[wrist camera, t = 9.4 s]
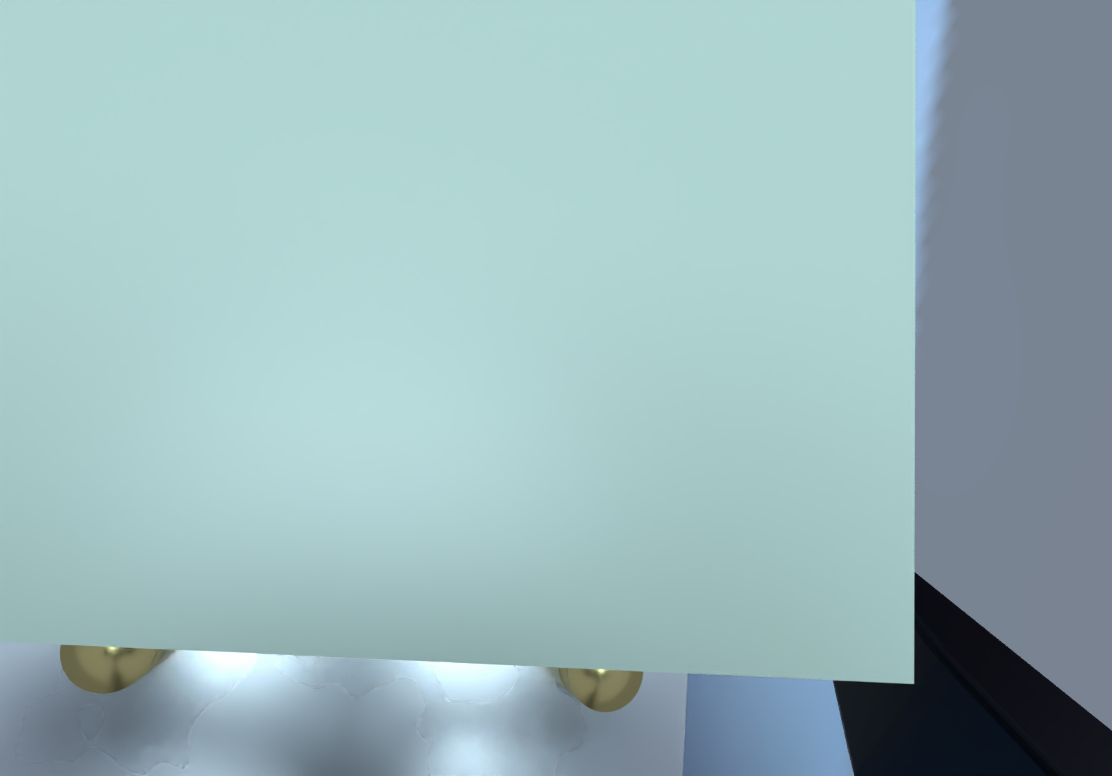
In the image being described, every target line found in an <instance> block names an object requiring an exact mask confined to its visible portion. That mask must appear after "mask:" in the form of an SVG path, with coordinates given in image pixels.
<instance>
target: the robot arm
mask: <svg viewBox="0 0 1112 776" xmlns="http://www.w3.org/2000/svg"><path fill="white" fill-rule="evenodd" d="M833 683H834V688H835V692H836V697H837V701H838V706H839V711H840V715H841V720H842V725H843V729H844V734H845V739H846V743H847V748H848V752H849V756H850V760H851V764H852V768H853V772H854V776H1112V731H1111V730H1110V729H1109V728H1108V727H1107V726H1105V725H1104V724H1103V723H1102V722H1100V721H1099V720H1098V719H1097V718H1095V717H1094V716H1093V715H1092V714H1090V713H1089V712H1088V711H1087V710H1085V709H1084V708H1083V707H1082V706H1081V705H1079V704H1078V703H1077V702H1076V701H1074V700H1073V699H1072V698H1070V697H1069V696H1068V695H1067V694H1066V693H1064V692H1063V691H1062V690H1061V689H1059V688H1058V687H1056V685H1054V684H1053V683H1052V682H1051V681H1049V680H1048V679H1047V678H1046V677H1044V676H1043V675H1042V674H1041V673H1040V672H1038V671H1037V670H1035V669H1034V668H1033V667H1032V666H1031V665H1030V664H1028V663H1027V662H1026V661H1024V660H1023V659H1022V658H1021V657H1020V656H1018V655H1017V654H1016V653H1015V652H1013V651H1012V650H1011V649H1010V648H1008V647H1007V646H1006V645H1005V644H1003V643H1002V642H1001V641H1000V640H998V639H997V638H996V637H995V636H993V635H992V634H991V633H990V632H989V631H987V630H986V629H985V628H984V627H982V626H981V625H980V624H979V623H977V622H976V621H975V620H974V619H972V618H971V617H970V616H969V615H967V614H966V613H965V612H964V611H962V610H961V609H960V608H959V607H957V606H956V605H955V604H954V603H952V602H951V601H950V600H949V599H947V598H946V597H945V596H944V595H943V594H941V593H940V592H939V591H938V590H936V589H935V588H934V587H932V586H931V585H930V584H929V583H928V582H926V581H925V580H924V579H923V578H921V577H920V576H919V575H918V574H916V573H915V572H914V684H905V683H883V682H861V681H840V680H833Z"/></svg>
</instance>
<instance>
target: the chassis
mask: <svg viewBox="0 0 1112 776" xmlns="http://www.w3.org/2000/svg"><path fill="white" fill-rule="evenodd" d="M687 680H688V673H666V672H645V671H623V670H601V669H580V668H558V667H536V666H515V665H493V664H471V663H450V662H428V661H407V660H385V659H363V658H342V657H320V656H298V655H277V654H255V653H233V652H212V651H190V650H168V649H147V648H125V647H103V646H82V645H60V644H38V643H17V642H0V776H683V761H684V741H685V721H686V700H687Z"/></svg>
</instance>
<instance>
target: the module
mask: <svg viewBox="0 0 1112 776" xmlns="http://www.w3.org/2000/svg"><path fill="white" fill-rule="evenodd" d="M915 127H916V0H0V642H17V643H38V644H60V645H82V646H103V647H125V648H147V649H168V650H190V651H212V652H233V653H255V654H277V655H298V656H320V657H342V658H363V659H385V660H407V661H428V662H450V663H471V664H493V665H515V666H536V667H558V668H580V669H601V670H623V671H645V672H666V673H688V674H710V675H731V676H753V677H775V678H796V679H818V680H840V681H861V682H883V683H905V684H914V508H915V501H914V499H915V496H914V495H915V491H914V490H915V489H914V488H915V485H914V484H915Z"/></svg>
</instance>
